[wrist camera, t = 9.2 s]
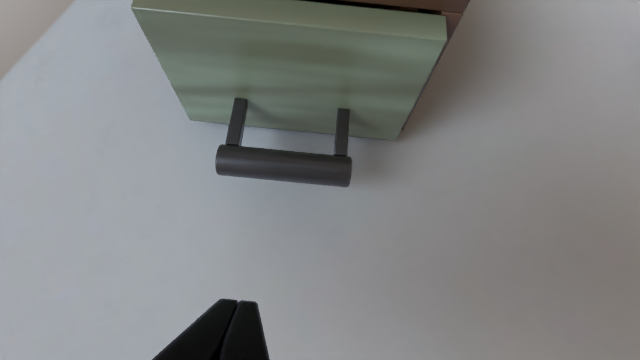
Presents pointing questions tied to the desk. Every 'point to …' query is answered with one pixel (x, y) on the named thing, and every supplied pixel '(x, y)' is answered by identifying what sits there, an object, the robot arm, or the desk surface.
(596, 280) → the desk surface
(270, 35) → the drawer
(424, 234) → the desk surface
